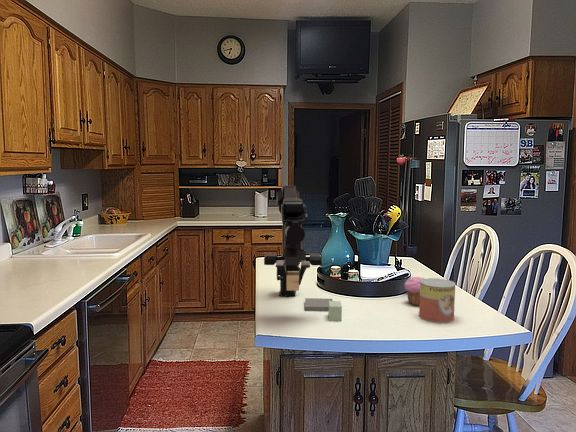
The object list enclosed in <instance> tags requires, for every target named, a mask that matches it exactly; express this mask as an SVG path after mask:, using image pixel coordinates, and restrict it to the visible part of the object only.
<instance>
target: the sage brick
mask: <svg viewBox="0 0 576 432" xmlns="http://www.w3.org/2000/svg"><path fill="white" fill-rule="evenodd" d="M342 307H343V306H342V302H341V300H337V301H336V300H333V301H329V311H328V320H329V321H328V322H342V317H343V313H342V312H343V310H342V309H343V308H342Z"/></svg>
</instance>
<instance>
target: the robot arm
mask: <svg viewBox="0 0 576 432" xmlns="http://www.w3.org/2000/svg"><path fill="white" fill-rule="evenodd" d="M276 207H278V211H279V213H280V216H281V223H282V253H281V255H279V256H278V253H266V254H265V255H264V259H263V265H264V266H274V265H275V268H276V280H277V281H279V284H280V285H279V286H280V287H279V292H278V297H296V295H297V291H289V290H287V271H299V286H301V284H302V280H303V278H304V274H305V272H306V270H307V269H309V268H311V266H322V264H323V263H322V255H321V254H320V253H309V256H307V249H303V248H302V246H303V243H302V242H303V241H304V239H305V238H306V237H305V236H306V233H305V230H304V227H302V225H303V224H302V223H307V220H308V208H307V206H306V203H304V202H303V199H302V198H300V192H299V190H298V189H297V186H296V185H283V186H281V189H280V190H279V191H277V193H276Z"/></svg>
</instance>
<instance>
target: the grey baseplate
mask: <svg viewBox="0 0 576 432" xmlns="http://www.w3.org/2000/svg"><path fill="white" fill-rule="evenodd" d="M329 301H334V300H333V298H323V297H321V298H319V297H317V298H310V297H309V298H307V297H306V298H304V304H305V305H304V311H306V312H329Z"/></svg>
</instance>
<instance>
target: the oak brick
mask: <svg viewBox="0 0 576 432" xmlns="http://www.w3.org/2000/svg"><path fill="white" fill-rule="evenodd" d="M287 290H289V291H296V292H297V291H300V285H299V271H287Z"/></svg>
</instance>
